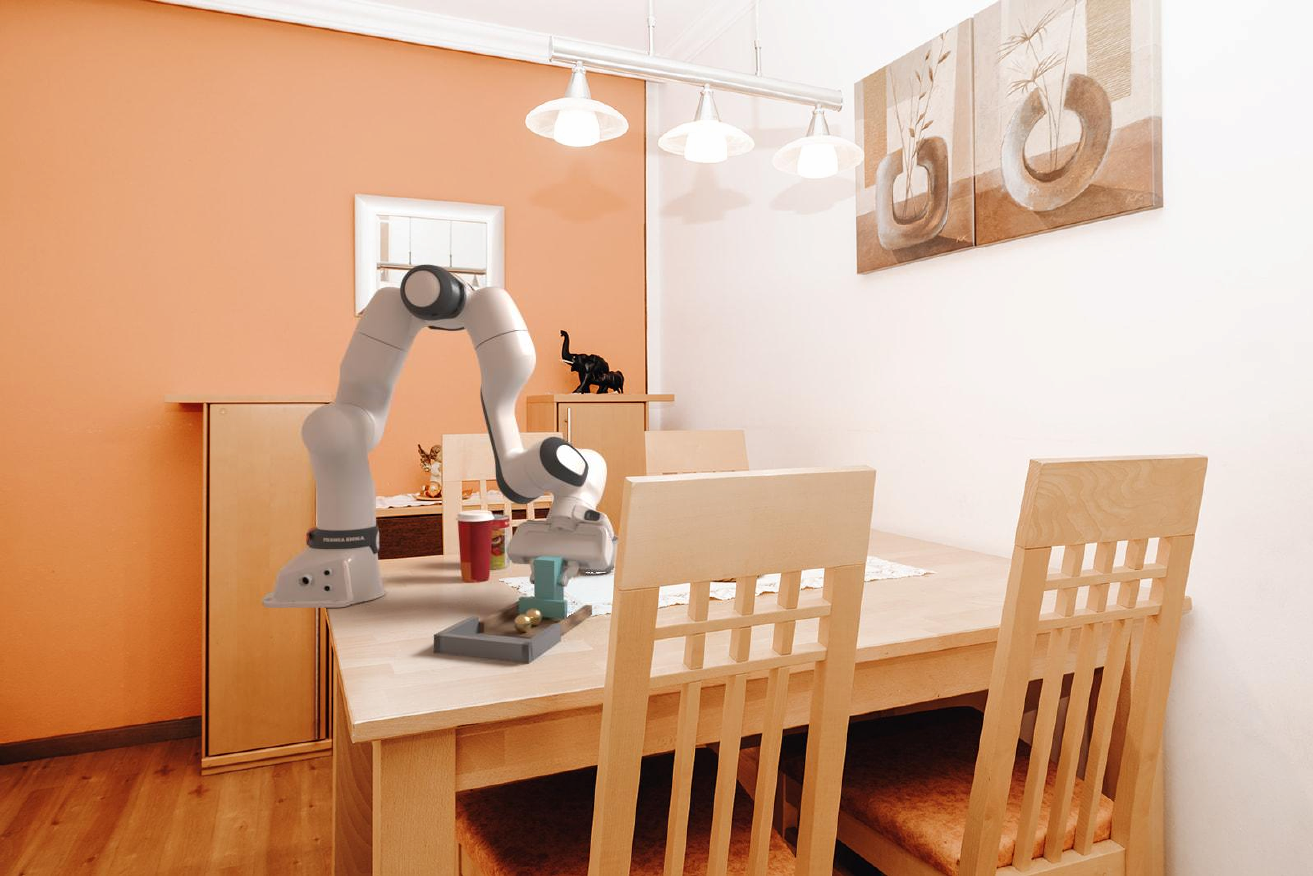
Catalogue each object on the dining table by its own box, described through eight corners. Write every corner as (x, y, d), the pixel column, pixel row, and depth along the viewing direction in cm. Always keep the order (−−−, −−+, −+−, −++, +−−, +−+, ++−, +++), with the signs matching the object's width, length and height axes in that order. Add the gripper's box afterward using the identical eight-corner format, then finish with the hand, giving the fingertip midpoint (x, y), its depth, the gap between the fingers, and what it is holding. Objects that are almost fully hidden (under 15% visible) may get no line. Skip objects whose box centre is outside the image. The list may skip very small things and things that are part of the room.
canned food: (475, 564, 188) (475, 515, 187) (508, 562, 190) (508, 514, 189) (476, 570, 180) (476, 519, 180) (510, 569, 182) (510, 518, 181)
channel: (521, 609, 147) (521, 599, 146) (592, 616, 142) (592, 605, 142) (476, 634, 131) (475, 622, 131) (553, 642, 126) (553, 630, 126)
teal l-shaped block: (531, 607, 145) (531, 554, 144) (576, 611, 142) (576, 557, 142) (518, 614, 140) (518, 559, 139) (564, 618, 137) (564, 563, 137)
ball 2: (525, 628, 134) (525, 611, 133) (524, 623, 136) (524, 607, 136) (542, 627, 134) (542, 610, 134) (541, 622, 137) (541, 606, 137)
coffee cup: (499, 575, 175) (499, 510, 174) (487, 584, 167) (487, 515, 166) (463, 574, 176) (463, 509, 175) (450, 583, 168) (449, 514, 167)
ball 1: (514, 635, 130) (514, 617, 130) (513, 630, 133) (513, 612, 132) (532, 634, 130) (532, 616, 130) (531, 629, 133) (531, 611, 133)
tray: (472, 633, 132) (472, 615, 131) (560, 642, 127) (560, 624, 127) (433, 653, 121) (433, 634, 120) (529, 664, 116) (528, 645, 116)
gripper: (515, 510, 150) (490, 570, 141) (614, 515, 144) (594, 578, 135) (526, 529, 155) (502, 588, 146) (622, 534, 149) (603, 597, 140)
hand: (547, 583), depth 141 cm, fingers closed on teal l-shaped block, 4 cm apart
